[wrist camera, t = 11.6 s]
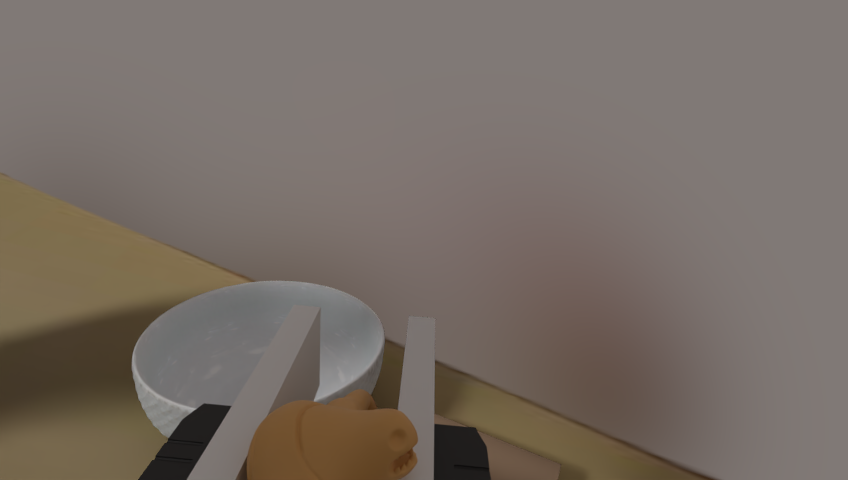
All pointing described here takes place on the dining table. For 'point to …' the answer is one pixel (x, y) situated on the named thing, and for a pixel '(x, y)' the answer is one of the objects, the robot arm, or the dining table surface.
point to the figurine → (333, 442)
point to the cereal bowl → (248, 346)
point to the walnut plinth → (512, 459)
